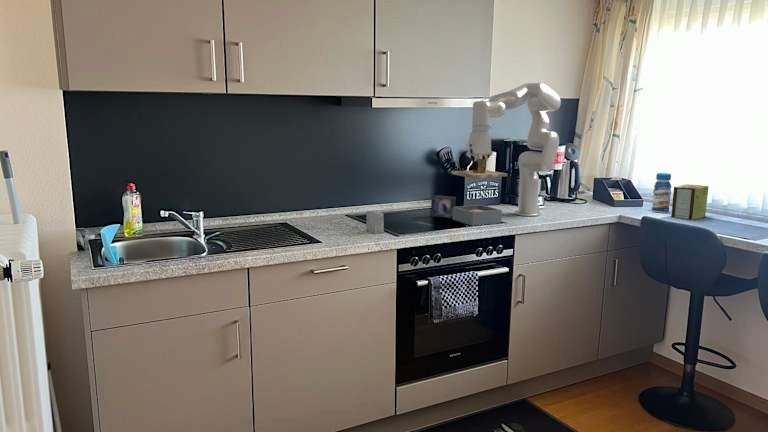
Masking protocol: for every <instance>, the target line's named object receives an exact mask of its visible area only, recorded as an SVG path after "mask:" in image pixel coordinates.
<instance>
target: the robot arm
mask: <svg viewBox="0 0 768 432" xmlns="http://www.w3.org/2000/svg"><path fill="white" fill-rule="evenodd" d="M561 103H562V101H561V98H560V95H559V94H558V93H557V92H555V91H554V90H553V89H552V88H551V87H549V86H548V85H547V84H544V83H543V82H526V83H523V84H520V85H519V86H516V87H514V88H513V89H511V90H507V91H505V92H501V93H498V94H494V95H491V96H488V97H485V98H484V99H481V100H477V101H474V102H473V103H472V118H471V119H472V120H471V121H472V125H471V130H472V131H471V132H470V133H469V137H468V143H467V144H468V145H467V152H466V154H465V156H467V157H468V158H469V159H470V161H471V162H472V164H471V170H477V167H478V161H477V159H478V157H479V155H481V159H485V160H486V162H488V160H489V158H490V157H491V156H492V155H493V151H492V138H491V137H492V136H491V132H490V130H491V127H492V126H490V119H491V118H493V119H497V118H501V117H503V116H504V115H505V113H506V111H507V110H513V109H516V108H518V107H520V106H522V105H525V104H526V105H527V107H528V110H529V112H530V115H531V123H530V124H531V125H530V129H529V132H528V136H527V139H526V145H527V147H528V148H529V149H530V150H532V151H524V152H522V153H521V154H519V157H518V169H519V171H518V172H519V182H518V183H519V184H518V186H519V188H518V200H517V201H518V203H517V204H518V206H517V209H516V210H515V211H514V214H515V215H517V216H521V217H538V216H541V211H544V210H545V209H546V207H545V206H544V205H539V188H540V187H539V186H540V178H539V174H538V172H539V173H548V172H550V171H551V170H552V168H553V167H554V164H555V160H556V156H557V153H558V150H559V147H560V146H559V145H560V137H559V135H558V132H555V131H551V130H549V127H550V119H549V116H548V114H547V112H555V111H558V110H559V109H560V107H561ZM533 150H534V151H533ZM485 170H487V164H486V165H485Z"/></svg>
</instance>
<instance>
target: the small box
mask: <svg viewBox="0 0 768 432" xmlns="http://www.w3.org/2000/svg"><path fill="white" fill-rule="evenodd" d="M456 198H457V197H456V196H450V195H449V196H448V195H440V194H439V195H438V194H436V195H434V196H431V202H430V203H431V205H430V207H431V210H430V213H431V215H430V217H431V218H438V217H440V218H448V219H451V218H452V219H453V207H456Z"/></svg>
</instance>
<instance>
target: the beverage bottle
mask: <svg viewBox="0 0 768 432" xmlns="http://www.w3.org/2000/svg"><path fill="white" fill-rule="evenodd" d="M671 178H672V175H671V173H668V172H656V178H655V179H656V182H655V183H654V185H653V191H652V193H653V195H652V196H653V197H652V205H651V206H652V207H651V211H652V212H654V213H658V214H659V213H660V214H667V213H669V212H670V201H671V194H672V190H671V189H672V184H671V182H670V181H671Z"/></svg>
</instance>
